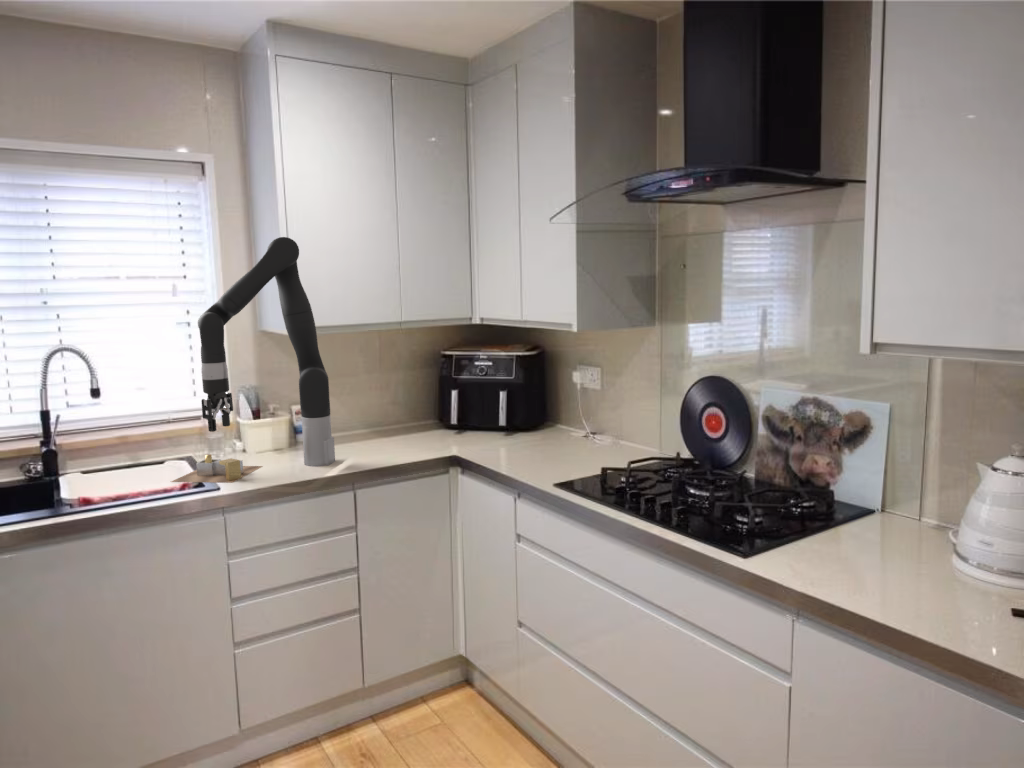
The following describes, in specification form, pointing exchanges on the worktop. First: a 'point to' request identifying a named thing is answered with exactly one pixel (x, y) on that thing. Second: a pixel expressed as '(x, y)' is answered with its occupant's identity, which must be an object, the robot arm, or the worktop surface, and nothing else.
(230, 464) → the block
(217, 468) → the link
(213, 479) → the board
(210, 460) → the cylinder
